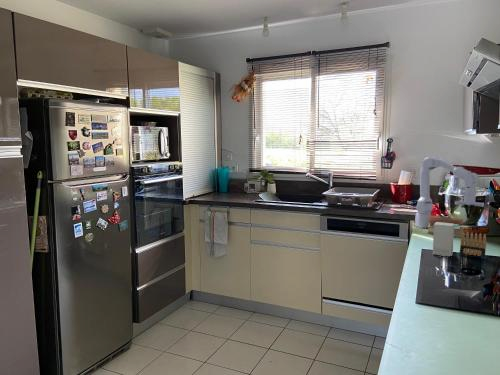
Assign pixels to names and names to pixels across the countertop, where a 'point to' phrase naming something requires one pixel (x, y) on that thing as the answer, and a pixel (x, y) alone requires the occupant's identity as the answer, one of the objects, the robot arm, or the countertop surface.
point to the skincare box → (443, 238)
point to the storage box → (456, 231)
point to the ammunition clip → (473, 245)
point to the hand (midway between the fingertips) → (468, 217)
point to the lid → (445, 220)
